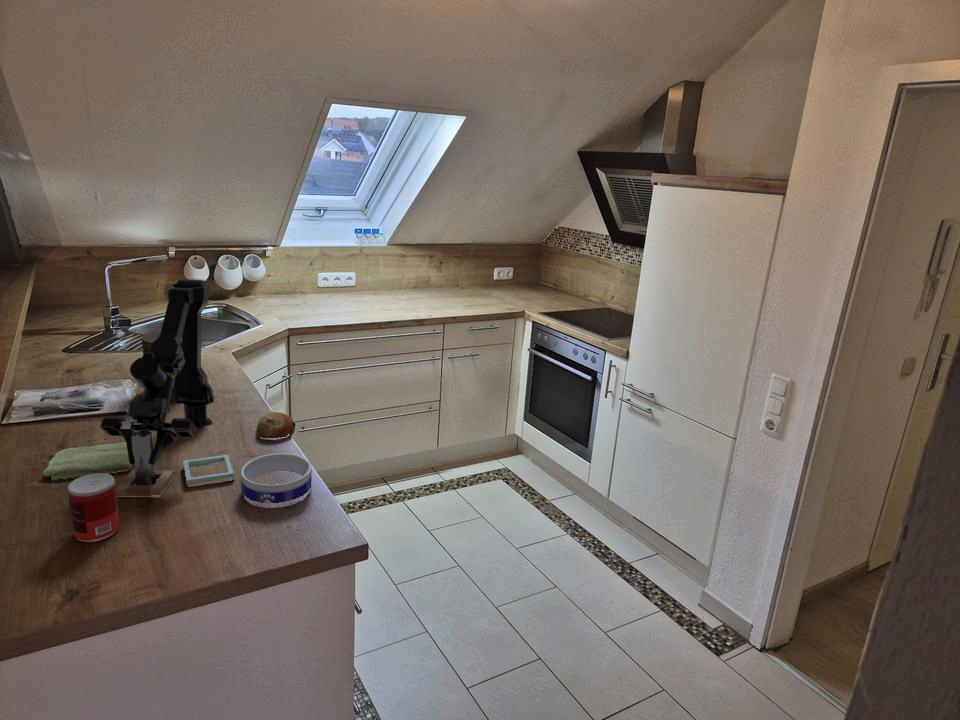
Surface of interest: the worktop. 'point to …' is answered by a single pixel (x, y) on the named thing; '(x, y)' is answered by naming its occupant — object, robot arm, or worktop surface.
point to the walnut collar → (144, 490)
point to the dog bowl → (277, 491)
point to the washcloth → (88, 461)
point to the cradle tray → (207, 462)
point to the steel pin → (143, 458)
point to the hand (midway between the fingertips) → (141, 464)
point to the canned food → (93, 506)
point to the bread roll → (275, 425)
